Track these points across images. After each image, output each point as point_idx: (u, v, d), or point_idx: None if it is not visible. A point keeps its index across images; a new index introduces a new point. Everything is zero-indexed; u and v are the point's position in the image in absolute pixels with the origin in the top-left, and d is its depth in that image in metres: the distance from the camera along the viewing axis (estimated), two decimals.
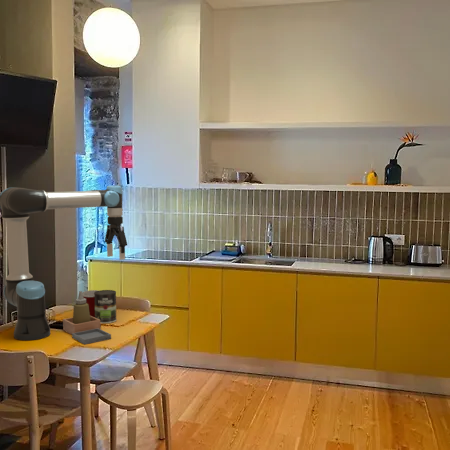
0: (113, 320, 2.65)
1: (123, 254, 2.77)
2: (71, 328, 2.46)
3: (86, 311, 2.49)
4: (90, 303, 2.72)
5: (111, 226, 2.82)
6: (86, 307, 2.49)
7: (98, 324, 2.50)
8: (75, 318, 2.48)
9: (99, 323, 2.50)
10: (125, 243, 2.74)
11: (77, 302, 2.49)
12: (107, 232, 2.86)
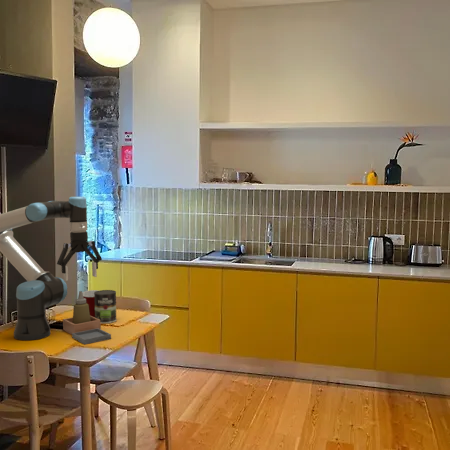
0: (113, 320, 2.65)
1: (65, 275, 2.44)
2: (71, 328, 2.46)
3: (86, 311, 2.49)
4: (90, 303, 2.72)
5: None
6: (86, 307, 2.49)
7: (98, 324, 2.50)
8: (75, 318, 2.48)
9: (99, 323, 2.50)
10: (58, 262, 2.42)
11: (77, 302, 2.49)
12: None
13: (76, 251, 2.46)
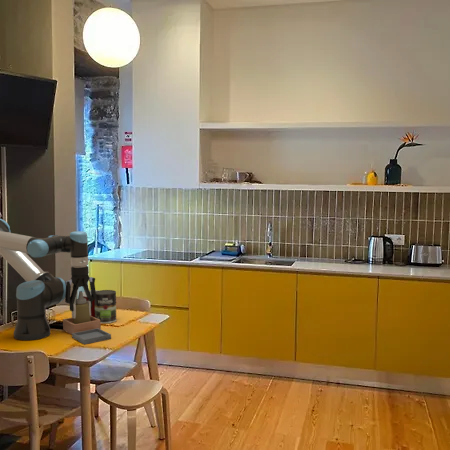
0: (113, 320, 2.65)
1: (73, 312, 2.48)
2: (71, 328, 2.46)
3: (86, 311, 2.49)
4: None
5: None
6: (86, 307, 2.49)
7: (98, 324, 2.50)
8: (75, 318, 2.48)
9: (99, 323, 2.50)
10: (67, 300, 2.46)
11: (77, 302, 2.49)
12: (90, 285, 2.54)
13: None
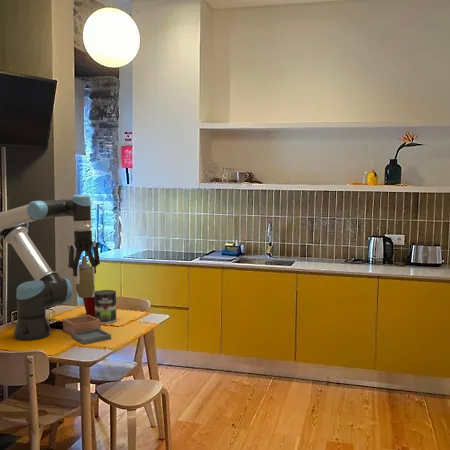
0: (113, 320, 2.65)
1: (77, 278, 2.41)
2: (71, 328, 2.46)
3: (90, 276, 2.42)
4: (90, 303, 2.72)
5: None
6: (90, 272, 2.42)
7: (98, 324, 2.50)
8: (79, 283, 2.41)
9: (99, 323, 2.50)
10: (70, 265, 2.39)
11: (81, 267, 2.42)
12: (93, 250, 2.48)
13: None
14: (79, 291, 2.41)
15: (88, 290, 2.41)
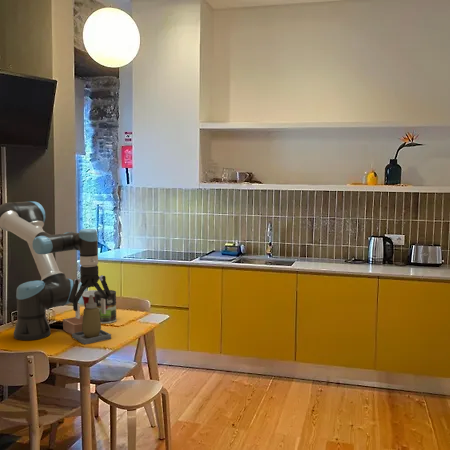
0: (113, 320, 2.65)
1: (77, 312, 2.34)
2: (71, 328, 2.46)
3: (96, 316, 2.37)
4: None
5: None
6: (96, 312, 2.37)
7: None
8: (85, 323, 2.36)
9: None
10: (70, 300, 2.32)
11: (87, 307, 2.36)
12: None
13: (86, 286, 2.36)
14: (85, 331, 2.36)
15: (93, 331, 2.36)
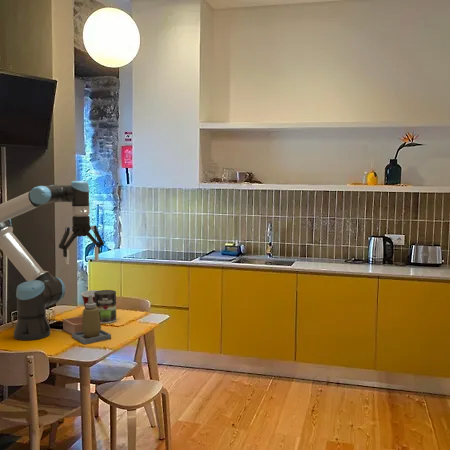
0: (113, 320, 2.65)
1: (66, 258, 2.45)
2: (71, 328, 2.46)
3: (96, 316, 2.37)
4: None
5: None
6: (96, 312, 2.37)
7: None
8: (85, 323, 2.36)
9: None
10: (60, 246, 2.43)
11: (87, 307, 2.37)
12: (94, 233, 2.53)
13: (78, 235, 2.47)
14: (85, 331, 2.36)
15: (93, 330, 2.36)
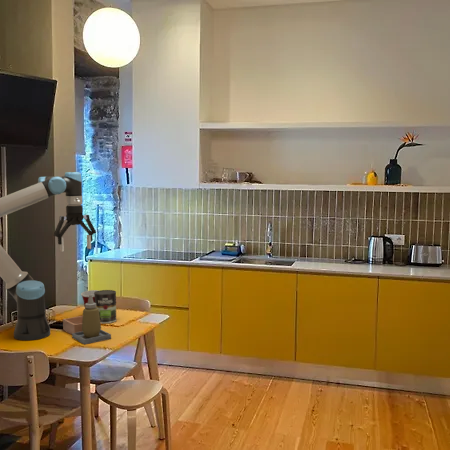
0: (113, 320, 2.65)
1: (61, 246, 2.58)
2: (71, 328, 2.46)
3: (96, 316, 2.37)
4: None
5: None
6: (96, 312, 2.37)
7: None
8: (85, 323, 2.36)
9: None
10: (55, 234, 2.56)
11: (87, 307, 2.37)
12: None
13: (71, 224, 2.60)
14: (85, 331, 2.36)
15: (93, 330, 2.36)
